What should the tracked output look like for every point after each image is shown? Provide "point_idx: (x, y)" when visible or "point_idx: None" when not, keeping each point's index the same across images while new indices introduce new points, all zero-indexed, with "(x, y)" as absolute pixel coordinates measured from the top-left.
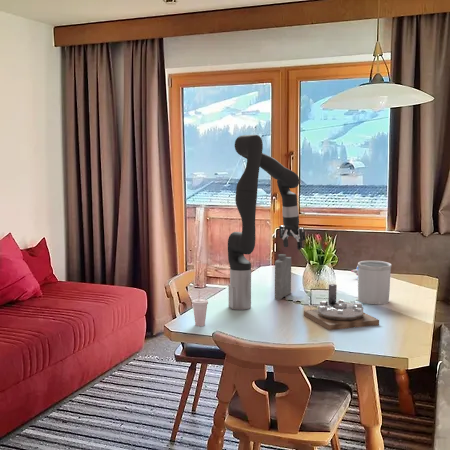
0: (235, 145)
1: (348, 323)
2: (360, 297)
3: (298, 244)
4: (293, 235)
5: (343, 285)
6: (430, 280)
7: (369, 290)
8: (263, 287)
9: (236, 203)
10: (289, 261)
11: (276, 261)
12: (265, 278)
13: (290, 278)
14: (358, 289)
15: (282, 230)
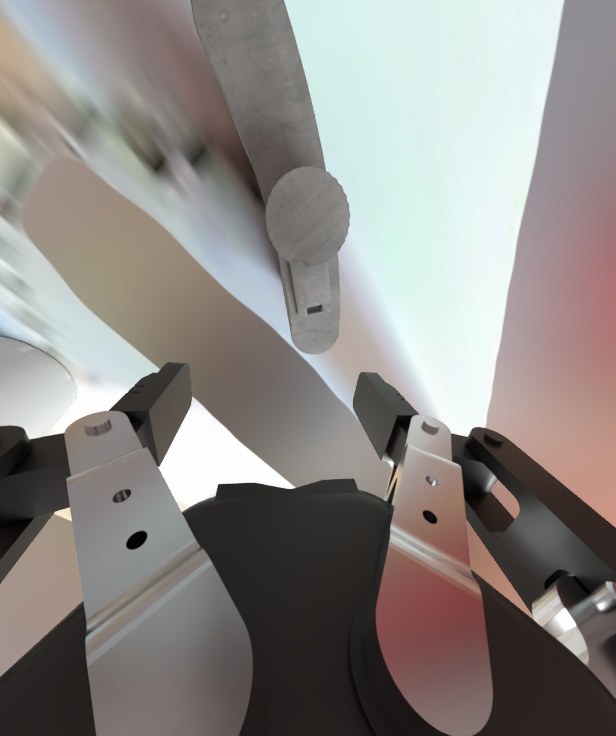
0: None
1: None
2: (2, 347)
3: (140, 391)
4: (153, 496)
5: (234, 447)
6: None
7: None
8: (407, 288)
9: None
10: (288, 309)
11: (276, 28)
12: (443, 383)
13: (283, 290)
14: (2, 370)
15: (560, 574)
